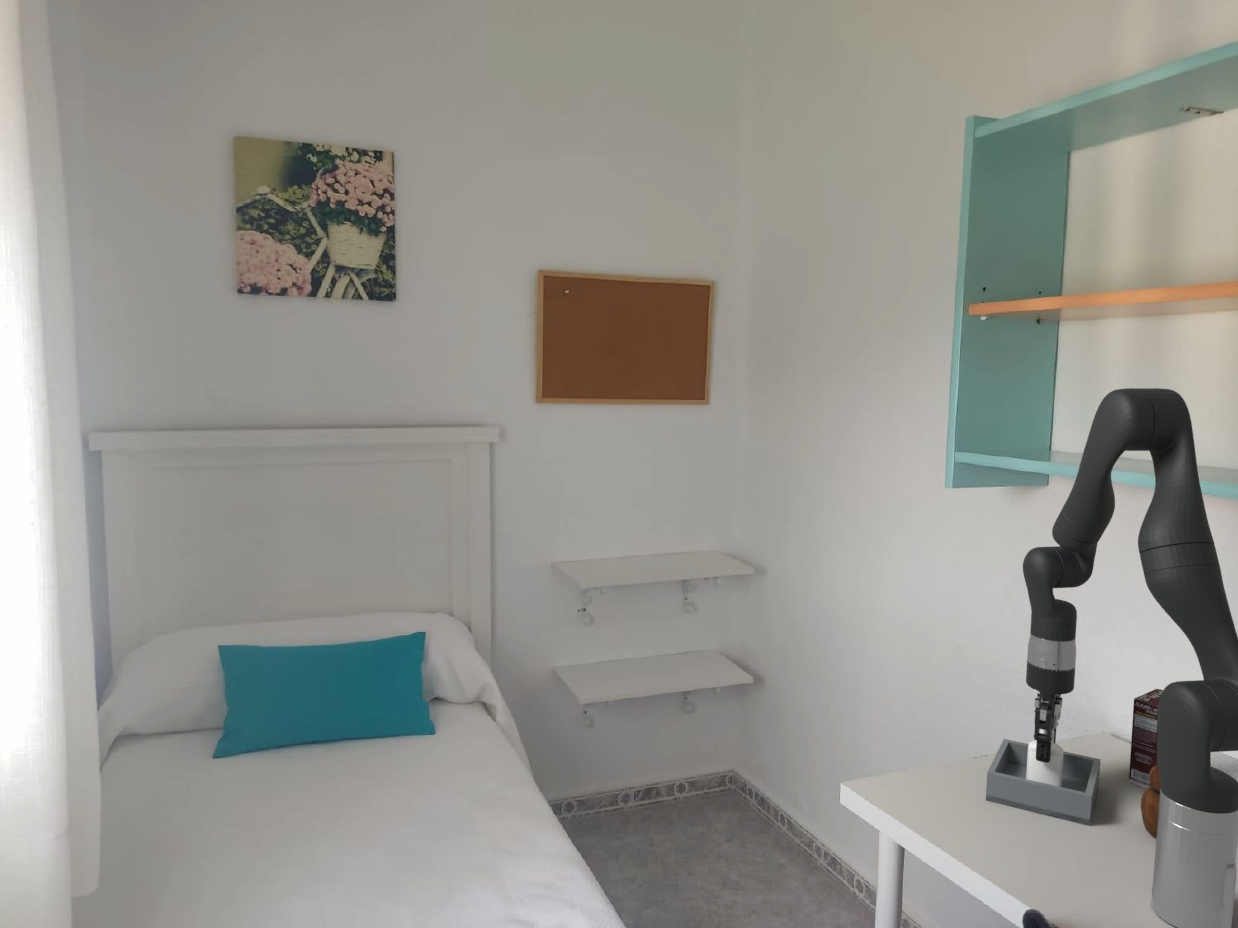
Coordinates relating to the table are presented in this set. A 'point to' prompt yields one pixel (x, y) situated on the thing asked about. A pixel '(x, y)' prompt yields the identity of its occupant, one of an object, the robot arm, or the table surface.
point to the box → (1042, 798)
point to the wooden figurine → (1151, 802)
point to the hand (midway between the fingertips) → (1045, 753)
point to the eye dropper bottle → (1045, 764)
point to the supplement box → (1144, 738)
